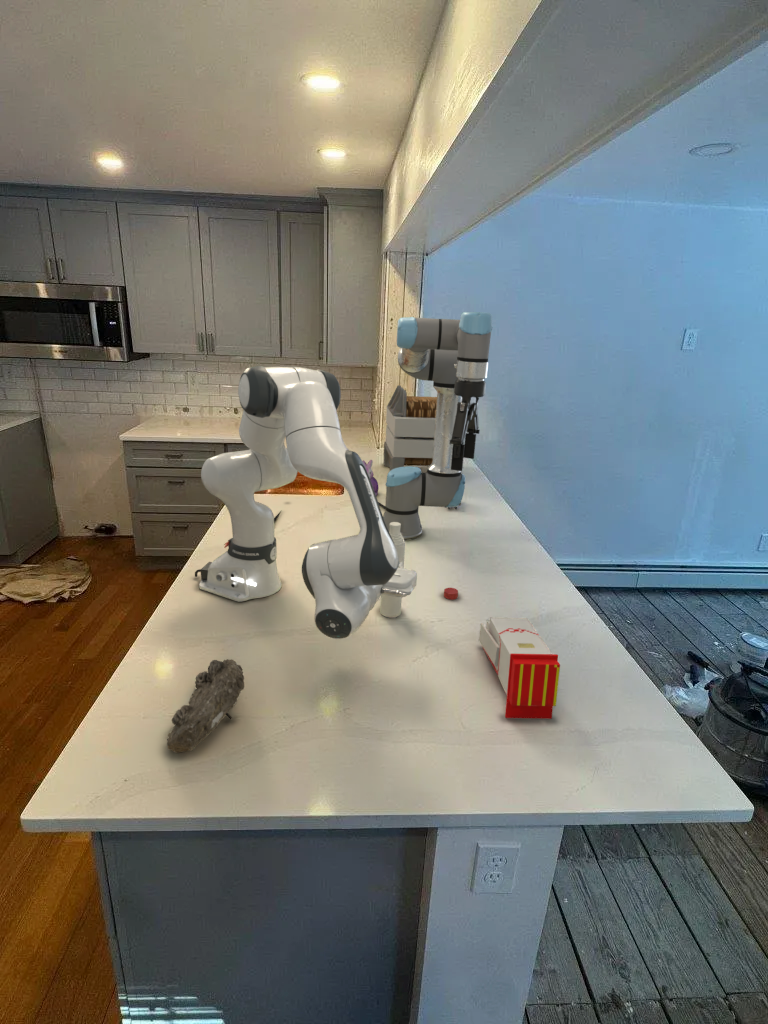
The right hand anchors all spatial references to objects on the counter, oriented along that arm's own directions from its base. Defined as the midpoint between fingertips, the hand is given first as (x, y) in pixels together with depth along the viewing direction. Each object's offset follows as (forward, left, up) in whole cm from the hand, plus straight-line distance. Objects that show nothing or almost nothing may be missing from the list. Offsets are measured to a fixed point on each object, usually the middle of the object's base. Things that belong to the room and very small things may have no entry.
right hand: (462, 463), depth 145 cm
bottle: (-3, -19, -38) cm, 43 cm away
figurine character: (-54, +58, -38) cm, 87 cm away
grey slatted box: (-95, +80, -38) cm, 130 cm away
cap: (0, 0, -37) cm, 37 cm away
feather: (-83, -5, -38) cm, 91 cm away
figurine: (-83, +38, -38) cm, 98 cm away
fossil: (+6, -73, -38) cm, 82 cm away
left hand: (+3, -30, -18) cm, 35 cm away
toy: (+33, -16, -38) cm, 53 cm away
